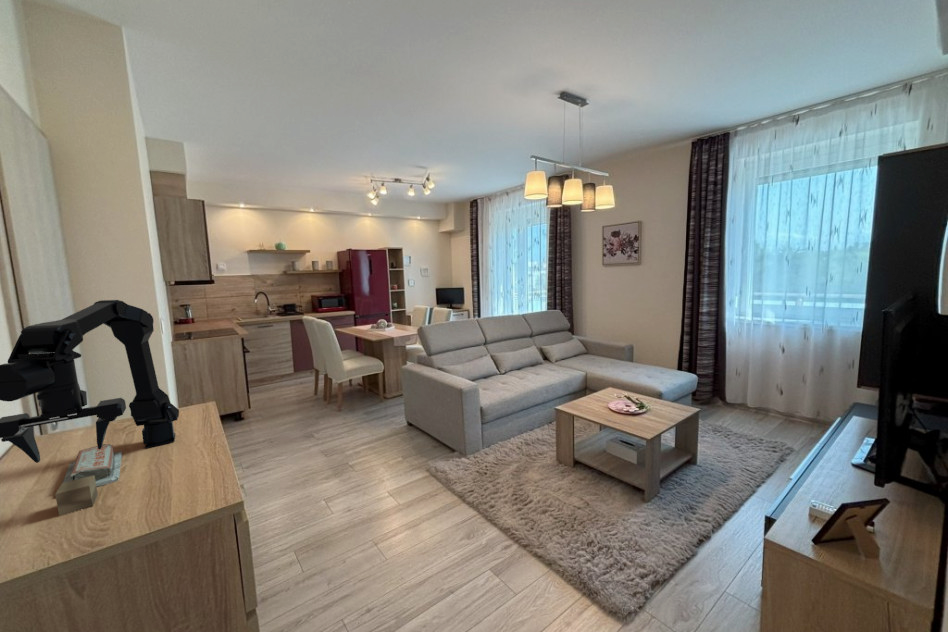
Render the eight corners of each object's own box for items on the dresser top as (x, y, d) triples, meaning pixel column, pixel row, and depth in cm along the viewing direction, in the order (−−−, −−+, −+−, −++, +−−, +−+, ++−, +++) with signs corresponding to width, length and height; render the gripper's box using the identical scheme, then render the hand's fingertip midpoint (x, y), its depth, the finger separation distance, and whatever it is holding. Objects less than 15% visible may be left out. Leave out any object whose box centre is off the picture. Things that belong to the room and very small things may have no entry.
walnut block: (97, 495, 85) (94, 475, 84) (92, 506, 81) (89, 485, 80) (66, 504, 82) (62, 483, 81) (59, 516, 78) (55, 494, 77)
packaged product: (67, 451, 97) (119, 438, 103) (70, 468, 97) (122, 455, 104) (55, 480, 83) (116, 464, 90) (58, 500, 84) (119, 482, 90)
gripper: (124, 368, 89) (134, 430, 92) (4, 383, 79) (18, 453, 81) (116, 379, 81) (127, 447, 83) (-20, 398, 70) (-4, 476, 72)
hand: (70, 454), depth 80 cm, fingers open, 9 cm apart
